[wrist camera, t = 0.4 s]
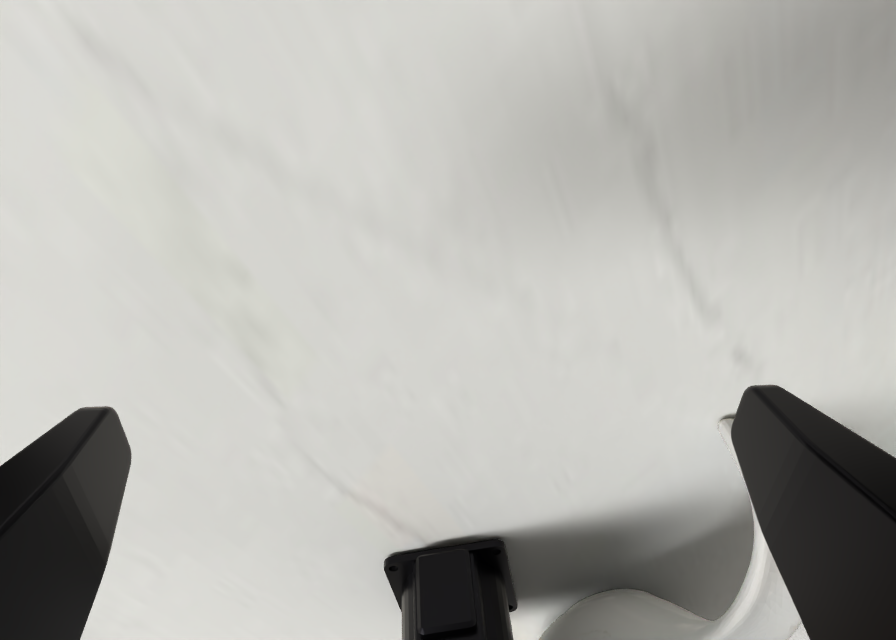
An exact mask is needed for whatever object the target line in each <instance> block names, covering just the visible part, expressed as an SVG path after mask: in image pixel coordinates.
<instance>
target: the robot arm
mask: <svg viewBox="0 0 896 640" xmlns="http://www.w3.org/2000/svg"><path fill="white" fill-rule="evenodd" d="M731 439H732V444H733V447H734V450H735V453H736V456H737V459H738V462H739V465H740V468H741V471H742V474H743V477H744V480H745V483H746V486H747V489H748V492H749V495H750V498H751V501H752V505H753V508H754V511H755V514H756V517H757V520H758V522H759V525H760V528H761V531H762V533H763V536H764V538H765V541H766V543H767V545H768V548H769V550H770V552H771V554H772V557H773V559H774V561H775V563H776V565H777V568H778V570H779V572H780V574H781V576H782V579H783V581H784V583H785V585H786V587H787V590H788V592H789V594H790V596H791V598H792V601H793V603H794V605H795V607H796V609H797V612H798V614H799V616H800V618H801V620H802V623H803V625H804V627H805V629H806V631H807V634H808V636H809V638H810V640H896V458H895V457H893V456H891V455H890V454H888V453H887V452H885V451H883V450H882V449H880V448H879V447H877V446H875V445H874V444H872V443H870V442H869V441H867V440H866V439H864V438H862V437H861V436H859V435H857V434H856V433H854V432H853V431H851V430H849V429H848V428H846V427H845V426H843V425H841V424H840V423H838V422H836V421H835V420H833V419H832V418H830V417H828V416H827V415H825V414H824V413H822V412H820V411H819V410H817V409H815V408H814V407H812V406H811V405H809V404H807V403H806V402H804V401H802V400H801V399H799V398H798V397H796V396H794V395H793V394H791V393H790V392H788V391H786V390H785V389H783V388H781V387H779V386H777V385H754V386H750V387H748V388H747V389H746V390H745V391H744V393H743V396H742V398H741V401H740V404H739V407H738V409H737V412H736V415H735V417H734V420H733V423H732V426H731ZM130 465H131V449H130V445H129V443H128V440H127V438H126V435H125V432H124V430H123V427H122V425H121V422H120V419H119V417H118V414H117V413H116V411H115V410H114V409H113V408H111V407H107V406H105V407H84V408H80V409H78V410H76V411H75V412H73V413H72V414H71V415H69V416H68V417H67V418H65V419H64V420H63V421H61V422H60V423H58V424H57V425H56V426H54V427H53V428H52V429H50V430H49V431H48V432H46V433H45V434H43V435H42V436H41V437H39V438H38V439H37V440H35V441H34V442H33V443H31V444H30V445H28V446H27V447H26V448H24V449H23V450H22V451H20V452H19V453H18V454H16V455H15V456H13V457H12V458H11V459H9V460H8V461H7V462H5V463H4V464H3V465H1V466H0V640H80V638H81V635H82V633H83V630H84V627H85V624H86V621H87V619H88V616H89V613H90V610H91V608H92V605H93V602H94V599H95V597H96V594H97V591H98V588H99V586H100V583H101V580H102V577H103V574H104V571H105V568H106V565H107V561H108V557H109V553H110V550H111V546H112V541H113V537H114V533H115V529H116V524H117V520H118V516H119V512H120V508H121V503H122V499H123V495H124V491H125V486H126V482H127V478H128V474H129V470H130ZM384 571H385V573H386V576H387V578H388V580H389V583H390V585H391V588H392V590H393V593H394V595H395V597H396V600H397V602H398V605H399V607H400V609H401V612H402V640H513V634H512V627H511V620H510V614H509V612H512V611H515V610H516V609H517V600H516V595H515V591H514V586H513V581H512V576H511V572H510V567H509V562H508V557H507V553H506V548H505V544H504V542H503V541H501V540H490V541H484V542H478V543H471V544H465V545H459V546H453V547H447V548H441V549H435V550H429V551H422V552H416V553H410V554H404V555H398V556H392V557H388V558H387V559H385V561H384Z"/></svg>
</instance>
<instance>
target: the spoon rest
mask: <svg viewBox="0 0 896 640" xmlns="http://www.w3.org/2000/svg"><path fill="white" fill-rule="evenodd" d="M733 420H734V419H723V420H721V421H720V422H719V423H718V431H719V433H720V435H721V437H722V439H723V441H724V442H725V444H726V446H727V448H728V450H729V452H730V454H731V456H732V458H733V460H734V462H735V464H736V466H737V468H738V470H739V472H740V473H741V475H742V478H743V480H744V477H743V474H742V471H741V468H740V465H739V462H738V459H737V456H736V453H735V450H734V447H733V444H732V439H731V426H732V423H733ZM744 483H745V480H744ZM745 485H746V483H745ZM746 488H747V486H746ZM747 491H748V489H747ZM748 494H749V492H748ZM749 498H750V495H749ZM750 502H751V506H752V512H753V520H754V544H753V552H752V557H751V562H750V565H749V568H748V571H747V574H746V577H745V579H744V581H743V584H742V586H741V588H740V590H739V593H738V595H737V596H736V598H735V600H734V602H733V603H732V605H731V606H730V607H729V609H728V610H727V611H726V612H725V614H724V615H723V616H721V617H720V618H719V619H717V620H714V621H709V620H707V619H704V618H702V617H700V616H698V615H696V614H694V613H692V612H690V611H688V610H686V609H684V608H682V607H680V606H678V605H676V604H674V603H671V602H669V601H666V600H664V599H661V598H658V597H656V596H654V595H652V594H650V593H648V592H645V591H640V590H635V589H616V590H610V591H605V592H601V593H597V594H594V595H592V596H589V597H587V598H585V599H583V600H581V601H579V602H578V603H576V604H575V605H573V606H572V607H571V608H570V609H569V610H568V611H567V612H566V613H565V614H563V615H562V616H561V617H559V618H558V619H557V620H556V621H554V622H553V623H552V624H551V625H550V626H549V627H548V629H547V630H546V631H545V632H544V633H543V634H542V636H541V637H540V638H539V640H788V639H789V638H790V637H791V636H792V635H793V633H794V632H795V631H796V630H797V628H798V627H799V625H800V624H801V622H802V620H801V618H800V616H799V614H798V612H797V609H796V607H795V605H794V603H793V601H792V598H791V596H790V594H789V592H788V590H787V587H786V585H785V583H784V581H783V579H782V576H781V574H780V572H779V570H778V568H777V565H776V563H775V561H774V559H773V557H772V554H771V552H770V550H769V548H768V545H767V543H766V541H765V538H764V536H763V533H762V531H761V528H760V525H759V522H758V520H757V517H756V514H755V511H754V508H753V505H752V501H751V498H750Z"/></svg>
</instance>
